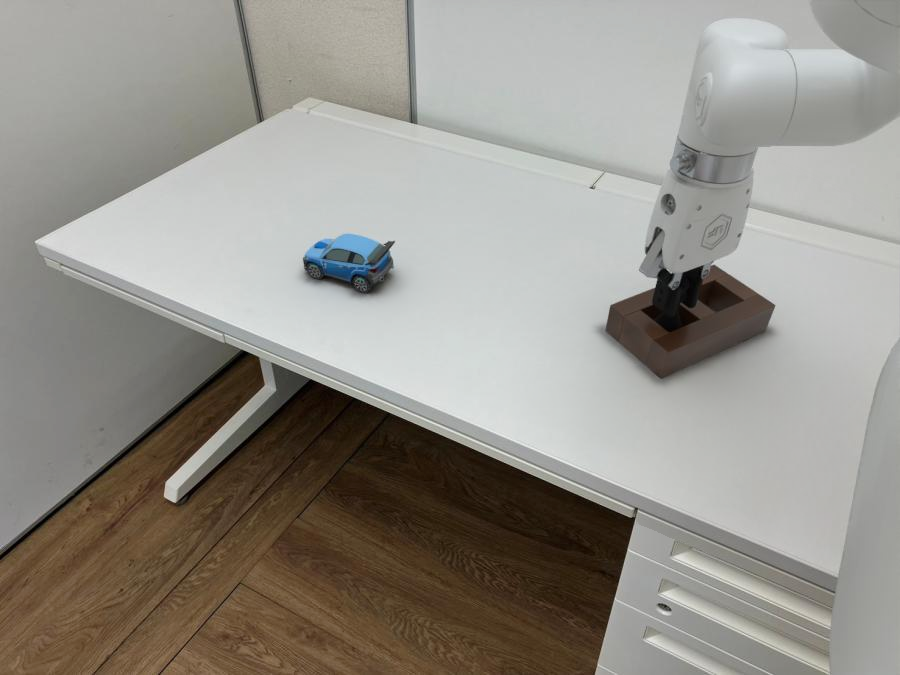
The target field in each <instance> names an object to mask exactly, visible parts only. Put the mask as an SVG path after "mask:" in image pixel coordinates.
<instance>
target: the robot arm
mask: <svg viewBox="0 0 900 675" xmlns="http://www.w3.org/2000/svg"><path fill="white" fill-rule="evenodd" d="M808 1H809V6H810V9H811V12H812V15H813V17H814V20H815V21H816V23H817V24H818V26H819V28H820V29H821V30H822V32H823V33H824V35H826V36H827V38H828V39H829V40H830V41H831V42H832V43H833V44H835V45H836V46H837V47H838V48H840V49H838V48H837V49H835V48H789V38H788V35H787V34H786V32H785V31H784V30H783V29H782V28H781V27H779V26H778V25H776V24H773V23H771V22H769V21H764V20H761V19H755V18H747V17H728V18H723V19H719V20H718V19H717V20H716V21H714V22H712V23H710V24H709V25H707V26H706V28H704V30H703V32H702V33H701V35H700V37H699V40H698V43H697V47H696V53H695V57H694V61H693V65H692V70H691V74H690V78H689V83H688V87H687V90H686V91H687V92H686V96H685V101H684V106H683V109H682V114H681V119H680V122H679V128H678V131H677V136H676V138H675V143H674V147H673V148H674V149H673V153H672V157H671V159H670V161H669V168H670V169H668V170H667V172H666V174H665V177H664V178H663V181H662V183H661V186H660V189H659V191H658V194H657V197H656V200H655V203H654V205H653V209H652V213H651V216H650V220H649V223H648V227H647V232H646V236H645V241H644V254H645V257H644V258H643V260H642V261H641V264H640V266H639V268H638V271H639V273H641V274H642V275H644V276H645V277H647V278H648V279H649V278H650V279H656V282H655V287H654V288H655V291H654V295H653V299H652V303H653V305H654V306H656V307H657V308H658V309H659V310H661V311H662V312H663V313H665V314H666V315H667V316H669V317H672V316H674V315H675V313H676V310H677V306H678V303H679V299H680V295H681V292H682V288H681V287H680V286H679V284H680V281H681V278H682V274H683V272H686V271H687V274H683V275H685V276H686V277H687V278H688V280H689V284H690V285H689V288H688V289H687V290H686V292H687V296H686V298H685V299H684V300H683V301H682V302H681V303H683V304H684V305H685V306H687V307H688V308H693V307H695V306H696V303H697V300H698V296H699V293H700V289H701V286H702V283H703V280H702V279H701V278H705V277H706V276H707V275H708V274H709V272H710V268H711V265H713V263H714V262H715V261H717V260H720V259H722V258H724V257H727V256H729V255H731V254H732V253H734V252H735V251H736V250H737V248H738V247H739V245H740V242H741V238H742V235H743V232H744V229H745V225H746V221H747V217H748V213H749V210H750V204H751V199H752V195H753V194H752V193H753V185H754V172H755V170H754V168H753V165H754V162H755V159H756V157H757V153H758V149H759V148H770V147H837V146H844V145H848V144H853V143H855V142H859V141H861V140H863V139H866V138H867V137H869V136H871V135H873V134H875V133H877V132H878V131H880V130H881V129H883V128H884V127H886V126H888V125H889V124H890V123H892V122H894V121H895V120H897V119H898V118H900V0H808ZM851 500H852V501H851V506H850V507H851V508H850V511H849V517H848V522H847V528H846V534H845V537H844V538H845V539H844V543H843V547H842V548H843V549H842V553H841V554H842V555H841V559H840V563H839V569H838V575H837V581H836V587H835V592H834V598H833V604H832V611H831V618H830V627H829V641H828V642H829V648H828V649H829V652H828V654H829V655H828V658H829V659H828V662H829V664H828V665H829V666H828V667H829V675H900V337H899V338H898V339H897V341H896V342H895V344H894V345H893V347H892V348H891V349H890V352H889V354H888V356H887V358H886V360H885V362H884V363H883V365H882V368H881V370H880V373H879V376H878V379H877V382H876V385H875V388H874V392H873V396H872V401H871V405H870V409H869V414H868V417H867V422H866V427H865V431H864V438H863V443H862V446H861V454H860V458H859V463H858V468H857V475H856V480H855V485H854V490H853V497H852V499H851Z"/></svg>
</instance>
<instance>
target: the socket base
mask: <svg viewBox="0 0 900 675" xmlns="http://www.w3.org/2000/svg"><path fill="white" fill-rule="evenodd" d="M701 279H702V280H703V283H702V286H701V289H700V293H699V296H698V300H697V303H696V306H695V307H693V308H688V307H687V306H685V305H684V304H683V303H680V305H679V310H678V313H679V317H680V320H681V324H682V326H683V327H682V328H679V329H677V330H675V331H672V332H670V333H669V332H667V331H666V330H665V329H664V328H662V327H661V326H660V325H659V324H657V323H656V322H655V321H654V319H656V318H657V317H658V316H659V315H660V314H661V313H662V311H661V310H659V309H658V308H657V307H656V306H654V305H653V303H652V299H653V295H654V291H655V287H652V288H650V289H648V290H645V291H643V292H640V293H638V294H635V295H632V296H630V297H627V298H625V299H622V300H619V301H617V302H614V303H612V304H610V305H609V311H608V315H607V320H606V325H605V332H606V333H607V334H609V335H610V336H611V337H612V338H613V339H614V340H616V341H617V343H619V344H620V345H621V346H623V347H624V348H625V350H627V351H628V352H629V353H631V354H632V355H633V356H634V357H635V358H636V359H637V360H639V361H640V362H641V363H642V364H644V366H646V367H647V369H649V370H650V371H652V372H653V373H654V375H656V376H657V377H658V378H660V379H661V380H662V379H665V378H666V377H668V376H671V375H673V374H674V373H677V372H679V371H682V370H684V369H686V368H688V367H691V366H692V365H694V364H697V363H699V362H701V361H703V360H705V359H708V358H710V357H712V356H714V355H716V354H718V353H721V352H724V351H725V350H727V349H729V348H731V347H734V346H735V345H738V344H741V343H742V342H744V341H747V340H749V339H750V338H751V339H752V338H754V337H756V336H757V335H759V334H762V333H764V332H766V331H767V328H768V326H769V324H770V321H771V319H772V316H773V314H774V311H775V308H776V304H775V303H773V302H772V301H770V300H769V299H767V298H766V297H764V296H762V294H759V293H758V292H756V291H755V290H754V289H753V288H751V287H749V286H747V285H746V284H745V283H743V282H741V281H740V280H739V279H737V278H736V277H734V276H732V275H731V274H729V273H728V272H726V271H725V270H723V269H722V268H721V267H718V266H717V265H716V264H711V268H710V272H709V274H708V275H707V276H706V277H705V278H701Z"/></svg>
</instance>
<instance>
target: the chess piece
mask: <svg viewBox="0 0 900 675" xmlns="http://www.w3.org/2000/svg"><path fill="white" fill-rule="evenodd" d="M683 274H687V271H686V272H683ZM683 274H682V278H681V281H680V284H679V286H680V287H681V288H682V292H681V295H680V299H679V303H678V306H677V310H676V313H675V315H674V316H672V317H669V316H667V315H666V314H665V313H663V312H662V313H661V314H660V315H659V316H658V317H657V318H656V319H654V321H655V322H656V323H657V324H659V325H660V326H661V327H662V328H664V329H665V330H666V331H667V332H669V333H670V332H672V331H675V330H677V329H679V328H682V327H683V326H682V324H681V320H680V317H679V313H678V310H679V305H680V303H681V302H682V301H683V300H684V299H685V298H686V296H687V292H686V290H687V289H688V288H689V285H690V284H689V280H688V278H687V277H686V276H685V275H683Z"/></svg>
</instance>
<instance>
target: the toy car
mask: <svg viewBox="0 0 900 675" xmlns="http://www.w3.org/2000/svg"><path fill="white" fill-rule="evenodd" d="M395 243H396V240H393V241H392V240H388V241H387V242H386V243H380V242H378V241H376V240H375V239H373V238H370V237H366V236H363V235H360V234H355V233H343V234H340V235H337V237H335V238H323V239H320V240H319V241H317V242H315V243H314V244H312V245H311V247H309V249H308V250H306V252H305V253H304V256H303V257H302V262H303V269H304V271H307V272H308V274H309V275H310V277H312V278H314V279H317V280H320V279H322V278H323V277H327V278H331V279H333V280H337V281H340V282H344V283H346V284H353V287H354V288H355V289H356V290H357V291H359V292H360V293H368V292H370V290H371V289H372V287H374V286H376V285H377V284H379V282H383V281H384V279H385V278H384V277H385V276H386V275H387V274H388V273H389V272H390V270H394V267H395V265H394V258H393V257H392V255H391V251H390V249H391V248H392V247H393V246H394V244H395Z"/></svg>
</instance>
